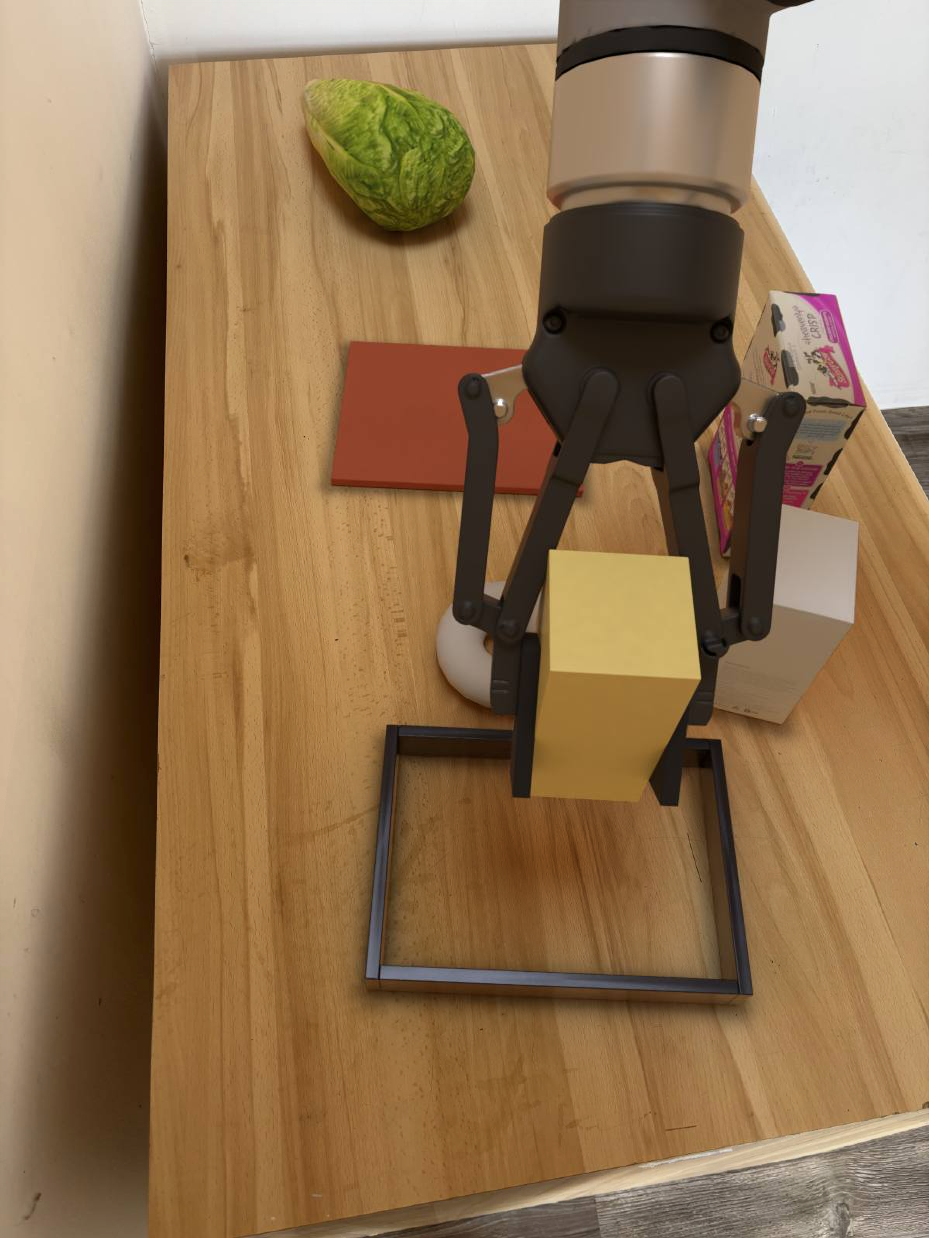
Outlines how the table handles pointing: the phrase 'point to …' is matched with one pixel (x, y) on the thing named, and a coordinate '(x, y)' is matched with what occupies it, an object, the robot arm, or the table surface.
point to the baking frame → (562, 984)
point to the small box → (794, 617)
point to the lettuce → (390, 149)
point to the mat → (429, 420)
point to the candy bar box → (815, 368)
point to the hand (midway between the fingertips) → (591, 788)
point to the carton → (611, 671)
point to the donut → (469, 651)
